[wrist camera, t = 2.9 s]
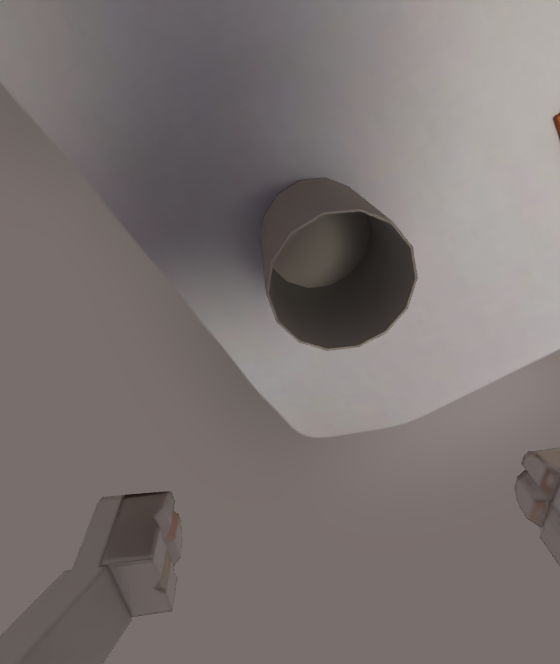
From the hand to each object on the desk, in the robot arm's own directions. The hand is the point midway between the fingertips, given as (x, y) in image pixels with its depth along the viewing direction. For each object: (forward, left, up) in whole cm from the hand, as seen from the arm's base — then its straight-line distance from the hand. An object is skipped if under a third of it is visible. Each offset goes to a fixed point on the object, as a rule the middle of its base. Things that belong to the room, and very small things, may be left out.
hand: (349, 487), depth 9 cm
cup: (+2, +2, -24) cm, 25 cm away
